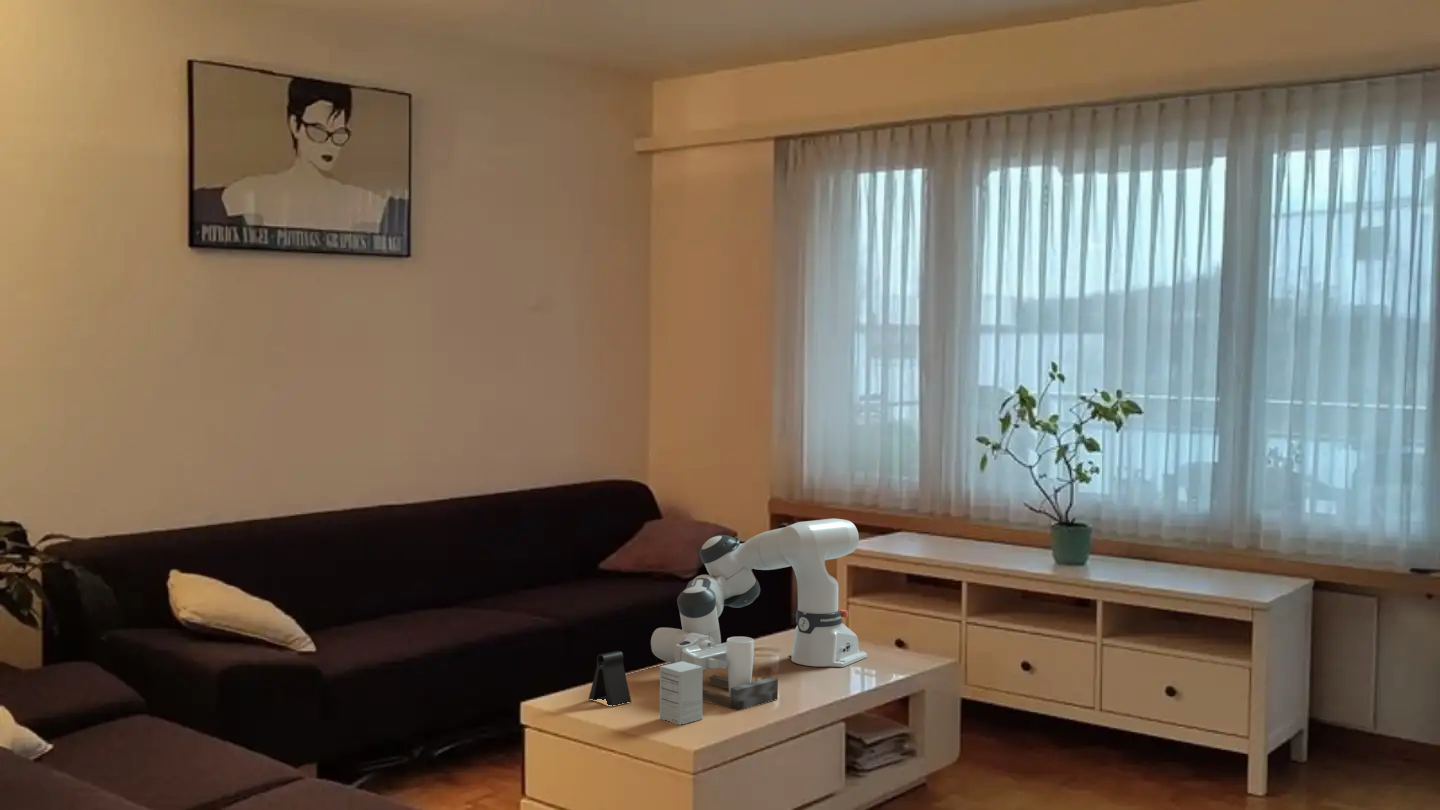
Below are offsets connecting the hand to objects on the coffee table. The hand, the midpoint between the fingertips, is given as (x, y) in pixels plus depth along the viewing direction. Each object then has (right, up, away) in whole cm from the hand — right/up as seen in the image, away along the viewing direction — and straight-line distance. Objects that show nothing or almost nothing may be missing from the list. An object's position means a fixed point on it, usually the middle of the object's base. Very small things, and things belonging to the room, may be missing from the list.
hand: (739, 662), depth 333 cm
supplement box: (-14, -10, -17) cm, 24 cm away
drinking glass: (0, -10, +1) cm, 10 cm away
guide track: (-3, -9, +4) cm, 11 cm away
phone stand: (-32, -9, -2) cm, 33 cm away
